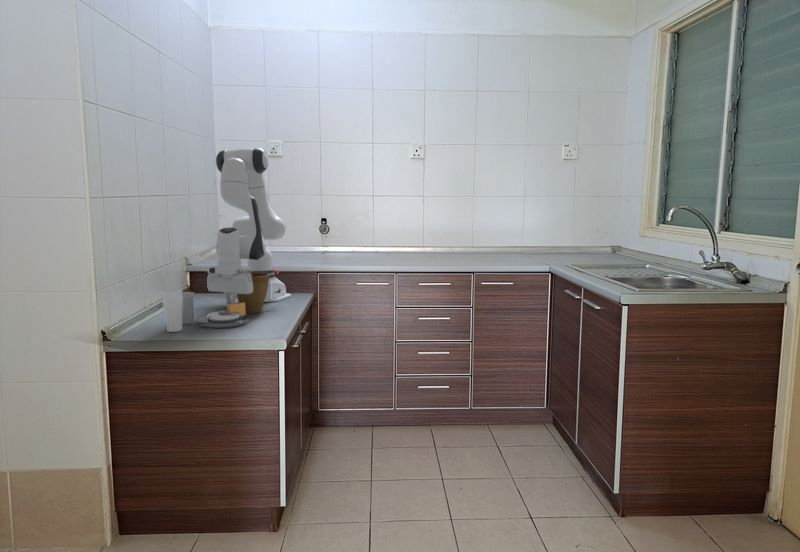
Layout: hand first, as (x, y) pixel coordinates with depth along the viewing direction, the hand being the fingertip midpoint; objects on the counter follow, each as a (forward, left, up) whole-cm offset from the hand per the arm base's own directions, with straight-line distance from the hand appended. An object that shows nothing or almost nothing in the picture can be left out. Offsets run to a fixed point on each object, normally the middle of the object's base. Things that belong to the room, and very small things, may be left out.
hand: (230, 303), depth 232 cm
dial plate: (+7, +3, -6) cm, 10 cm away
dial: (+6, +4, -4) cm, 8 cm away
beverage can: (+15, -9, -6) cm, 19 cm away
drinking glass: (+25, -3, -6) cm, 26 cm away
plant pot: (-14, -2, -6) cm, 15 cm away
